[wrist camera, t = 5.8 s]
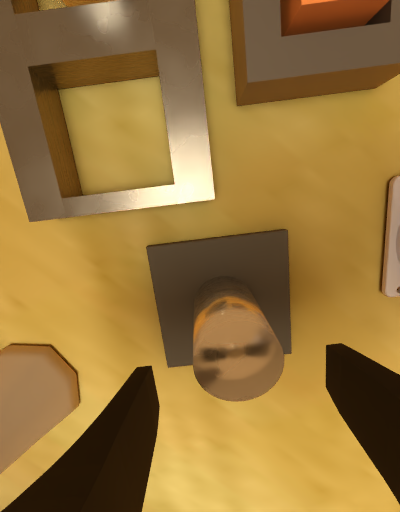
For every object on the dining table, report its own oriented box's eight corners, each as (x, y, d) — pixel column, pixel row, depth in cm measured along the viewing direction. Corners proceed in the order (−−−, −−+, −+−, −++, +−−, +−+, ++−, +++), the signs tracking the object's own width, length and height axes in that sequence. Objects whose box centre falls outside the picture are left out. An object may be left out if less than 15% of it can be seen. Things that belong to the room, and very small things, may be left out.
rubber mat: (284, 228, 16) (287, 230, 15) (288, 348, 18) (291, 353, 17) (148, 245, 16) (146, 247, 15) (168, 362, 18) (167, 367, 18)
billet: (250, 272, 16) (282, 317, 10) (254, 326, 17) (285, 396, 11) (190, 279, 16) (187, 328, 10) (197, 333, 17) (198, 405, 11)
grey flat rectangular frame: (174, -151, 11) (169, -246, 9) (211, 198, 15) (215, 199, 13) (-35, -121, 11) (-97, -206, 9) (55, 217, 15) (29, 222, 13)
